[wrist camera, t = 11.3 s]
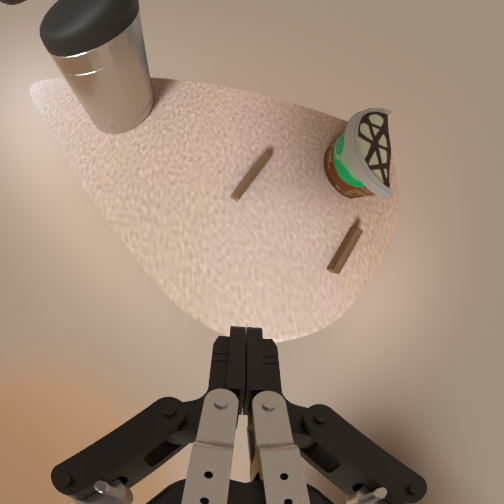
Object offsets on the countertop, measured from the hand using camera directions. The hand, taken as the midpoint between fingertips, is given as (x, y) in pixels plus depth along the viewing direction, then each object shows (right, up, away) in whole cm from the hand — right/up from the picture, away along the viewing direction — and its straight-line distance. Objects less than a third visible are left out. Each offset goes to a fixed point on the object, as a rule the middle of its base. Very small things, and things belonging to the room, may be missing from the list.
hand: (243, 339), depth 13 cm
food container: (+12, +17, +25) cm, 32 cm away
